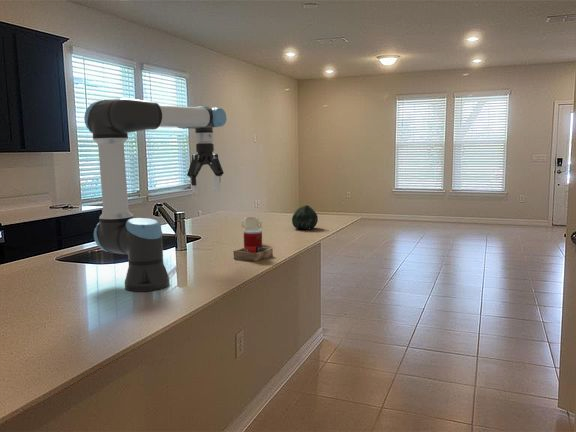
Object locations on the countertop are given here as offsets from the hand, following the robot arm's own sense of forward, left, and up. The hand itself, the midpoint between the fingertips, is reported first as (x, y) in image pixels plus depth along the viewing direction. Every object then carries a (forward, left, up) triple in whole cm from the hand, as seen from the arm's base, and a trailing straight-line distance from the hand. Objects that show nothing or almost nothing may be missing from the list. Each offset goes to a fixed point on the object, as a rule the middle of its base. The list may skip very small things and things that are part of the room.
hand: (206, 191), depth 218 cm
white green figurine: (+33, +2, -29) cm, 44 cm away
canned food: (+7, -20, -28) cm, 35 cm away
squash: (+84, +3, -29) cm, 89 cm away
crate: (+7, -20, -29) cm, 35 cm away
